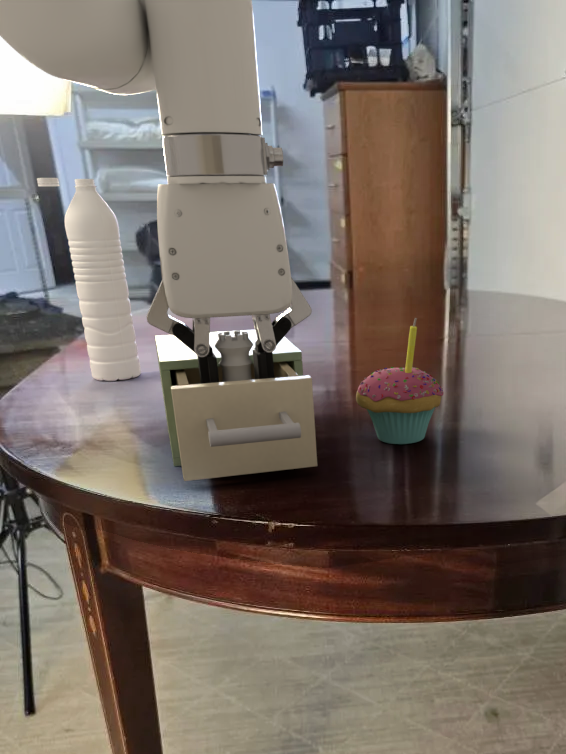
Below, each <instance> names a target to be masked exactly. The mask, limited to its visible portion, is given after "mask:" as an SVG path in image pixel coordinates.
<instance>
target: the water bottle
mask: <svg viewBox="0 0 566 754" xmlns="http://www.w3.org/2000/svg"><path fill="white" fill-rule="evenodd" d="M36 181H37V187H60V181H59V178H58V177H37V178H36ZM74 184H75V185H74V186H73V188H75V192H74V194H73V197H71V198H72V199H71V200H70V203H69V205H68V207H67V209H66V211H65V215H64V229H65V233H66V239H67V240H68V242H67V243H68V246H69V253H70V260H71V266H72V272H73V274H74V275H73V277H74V280H75V288H76V295H77V298H78V300H79V302H78V305H79V312H80V314H81V316H82V317H81V323H82V327H83V328H84V332H83V333H84V339H85V342H86V344H87V345H86V350H87V355H88V358H89V367H90V374H91V377H92V379H95V380H97V381H106V382H114V381H117V380H118V381H124V380H130V379H133V378H137V377H139V376H140V375H141V374H142V367H141V362H140V357H139V355H138V354H139V349H138V344H137V341H136V330H135V327H134V317H133V314H132V303H131V300H130V297H129V296H130V291H129V285H128V281H127V279H126V278H127V273H126V272H125V271H126V267H125V261H124V255H123V248H122V246H121V245H122V241H121V239H120V238H121V234H120V233H121V232H120V226H119V221H118V218H117V216H116V214H115V213H114V211H113V210H112V208H111V207H110V205H108V203H107V202H106V201H105V200H104V199H103V197H102V196H101V194H99V192H98V191H97V187H98V185H95V184H96V183H95V179H94V178H74Z"/></svg>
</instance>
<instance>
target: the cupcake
mask: <svg viewBox="0 0 566 754" xmlns="http://www.w3.org/2000/svg"><path fill="white" fill-rule="evenodd" d="M417 319H418V318H417V317H414V320H413V325H410V326H409V334H408V340H407V341H408V342H407V350H406V351H407V352H406V358H405V359H406V360H405V367H401V366H397V367H394V366H390V368H387V367H384V368H381V369H379V368H378V369H376V370H375V371H373V372H371V374H370V375H369V376H366V377H364V378H363V379H364V380H361V381H360V384H359V386H358V387H357V391H356V393H355V401H356V403H357V405H358V406H359V407H361V408H362V409H365V410H366V411H367V413H368V414H369V417H370V420H371V422H372V424H373V427H374V430H375V433H376V436H377V439H378V440H379V441H380V442H382V443H385V444H390V445H410V444H415V443H419V442H421V441H423V440H424V439H425V438H426V434H427V431H428V427H429V423H430V420H431V419H432V416H433V413H434V411H435V410H436V408H438V407H440V405H441V401H442V397H443V396H444V389H443V388H444V387H442V386H441V385H440V382H439V381H438V380H437V379H436V378H434V377H433V375H432V374H431V373H427V372H426V371H425V370H424V371H423V370H421V369H419V367H413V364H414V355H415V348H416V347H415V346H416V341H417V340H416V339H417V332H418V331H417V330H418V327H417V326H416V325H417Z"/></svg>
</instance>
